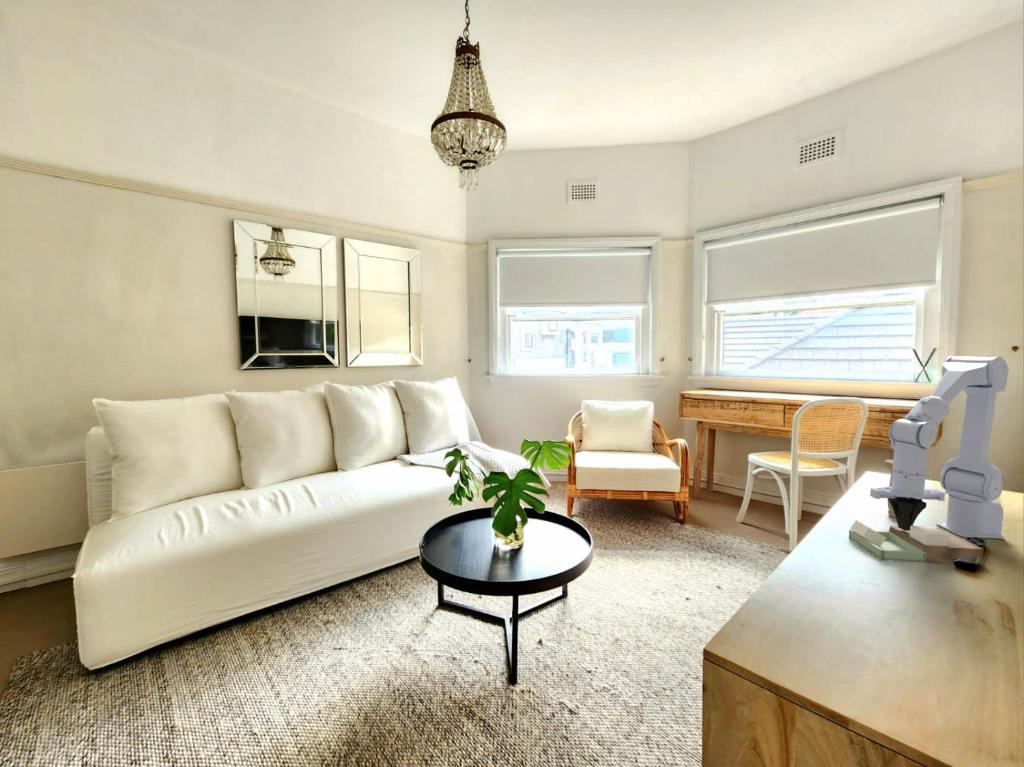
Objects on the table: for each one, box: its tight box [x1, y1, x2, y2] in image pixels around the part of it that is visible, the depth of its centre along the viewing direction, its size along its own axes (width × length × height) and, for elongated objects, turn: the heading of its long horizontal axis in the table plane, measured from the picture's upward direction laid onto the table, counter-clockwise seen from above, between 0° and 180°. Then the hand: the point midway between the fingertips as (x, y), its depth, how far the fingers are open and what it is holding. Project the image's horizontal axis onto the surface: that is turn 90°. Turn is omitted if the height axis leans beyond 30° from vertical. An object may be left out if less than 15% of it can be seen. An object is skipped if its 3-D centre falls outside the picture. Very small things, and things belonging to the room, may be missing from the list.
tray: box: [848, 529, 927, 563], centre depth 103 cm, size 9×11×2 cm
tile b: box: [910, 525, 949, 546], centre depth 99 cm, size 4×4×2 cm
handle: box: [884, 459, 896, 519], centre depth 122 cm, size 5×6×15 cm
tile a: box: [849, 520, 886, 547], centre depth 106 cm, size 4×4×2 cm
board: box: [889, 525, 984, 566], centre depth 102 cm, size 11×11×4 cm
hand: (904, 528), depth 105 cm, fingers closed
